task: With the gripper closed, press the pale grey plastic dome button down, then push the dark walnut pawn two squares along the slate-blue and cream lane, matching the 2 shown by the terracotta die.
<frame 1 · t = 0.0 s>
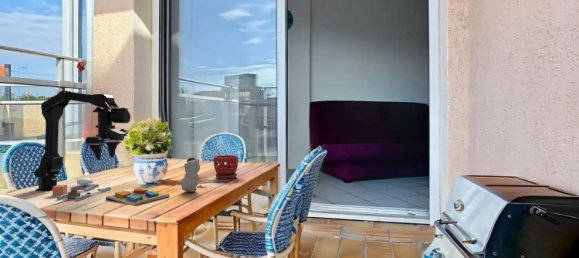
hand: (105, 158, 164), 15 cm above the table, fingers open, 9 cm apart
plant pot: (225, 178, 203), on the table
dome: (85, 181, 172), point 3 cm above the table, slide at 0.0 cm
die: (60, 195, 158), on the table
pawn: (74, 198, 153), on the table
dome base: (85, 187, 173), on the table
shape sorting puzzle: (138, 199, 154), on the table
lane: (85, 194, 159), on the table
figurine: (189, 192, 167), on the table
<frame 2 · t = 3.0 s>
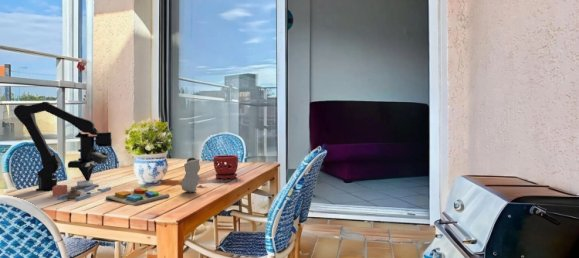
hand: (87, 180, 174), 3 cm above the table, fingers closed, pressing on dome
dome: (85, 183, 172), point 2 cm above the table, slide at -1.0 cm, touching gripper
everything else where it was.
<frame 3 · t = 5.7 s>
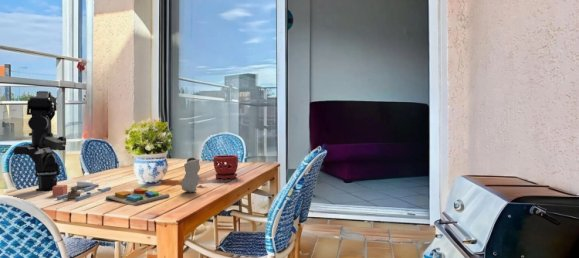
hand: (41, 170, 144), 12 cm above the table, fingers closed
dome: (85, 184, 172), point 2 cm above the table, slide at -1.1 cm
everything else where it was.
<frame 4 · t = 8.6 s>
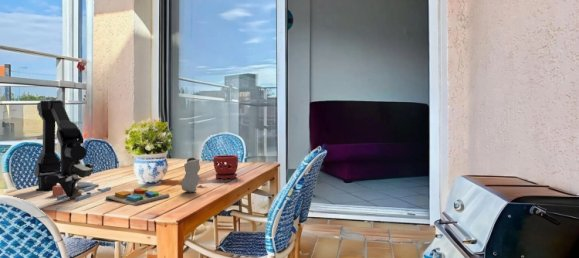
hand: (69, 196, 150), 1 cm above the table, fingers closed
pawn: (75, 197, 153), on the table, touching gripper
everything else where it was.
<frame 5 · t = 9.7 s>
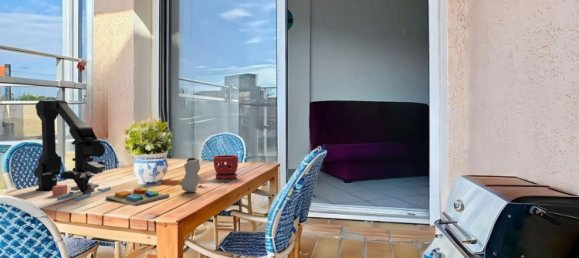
hand: (83, 192, 158), 1 cm above the table, fingers closed
pawn: (88, 193, 161), on the table, touching gripper
everything else where it was.
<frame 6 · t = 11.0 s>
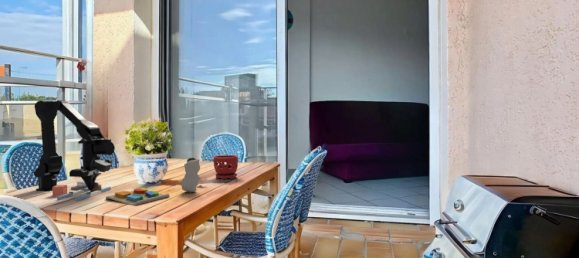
hand: (90, 190, 163), 1 cm above the table, fingers closed
pawn: (95, 191, 166), on the table, touching gripper
everything else where it was.
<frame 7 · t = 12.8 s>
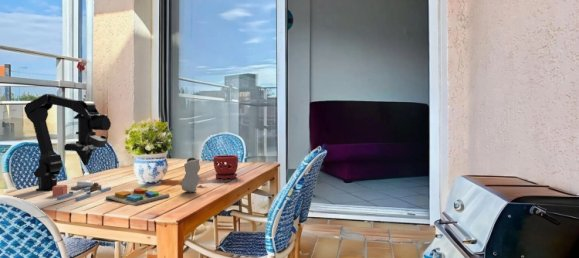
hand: (85, 165, 164), 12 cm above the table, fingers closed
pawn: (95, 191, 166), on the table
everything else where it was.
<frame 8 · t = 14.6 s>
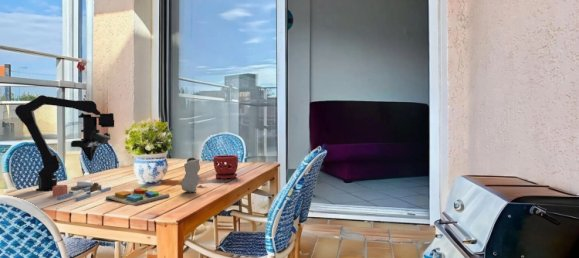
hand: (90, 160, 176), 12 cm above the table, fingers closed
nothing on the table moved.
at the end: pawn inside the target area (1.0 cm from its centre), on the table; pawn tilted 0° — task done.
